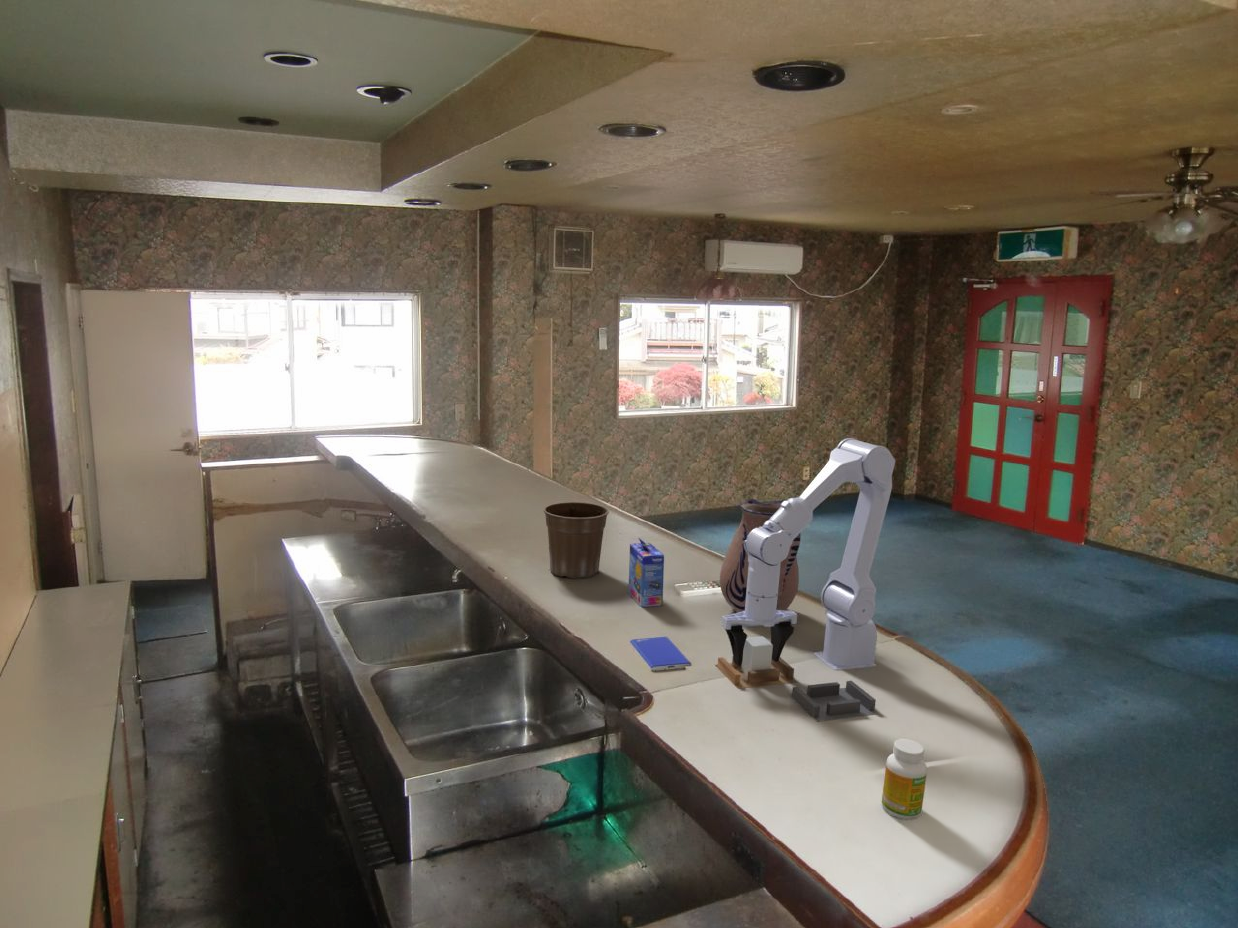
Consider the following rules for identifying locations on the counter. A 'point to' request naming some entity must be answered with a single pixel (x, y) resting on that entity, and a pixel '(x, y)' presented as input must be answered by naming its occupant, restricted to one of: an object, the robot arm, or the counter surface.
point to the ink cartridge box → (646, 574)
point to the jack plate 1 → (757, 674)
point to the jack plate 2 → (834, 701)
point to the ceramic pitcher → (737, 562)
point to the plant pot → (575, 538)
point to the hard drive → (659, 653)
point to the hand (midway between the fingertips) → (756, 661)
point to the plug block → (756, 654)
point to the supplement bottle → (904, 780)
